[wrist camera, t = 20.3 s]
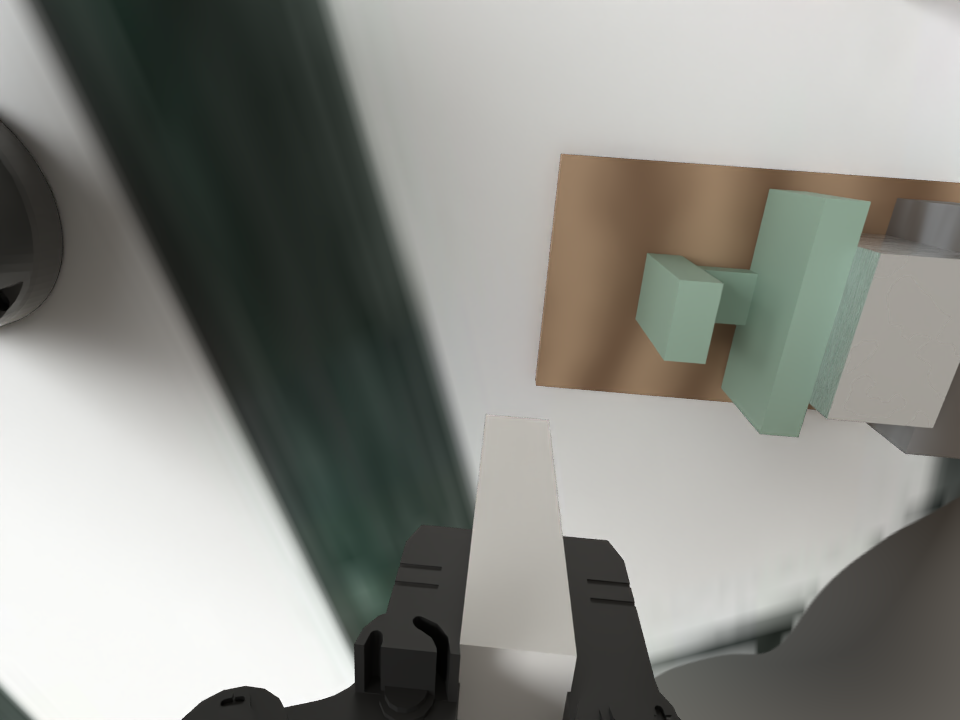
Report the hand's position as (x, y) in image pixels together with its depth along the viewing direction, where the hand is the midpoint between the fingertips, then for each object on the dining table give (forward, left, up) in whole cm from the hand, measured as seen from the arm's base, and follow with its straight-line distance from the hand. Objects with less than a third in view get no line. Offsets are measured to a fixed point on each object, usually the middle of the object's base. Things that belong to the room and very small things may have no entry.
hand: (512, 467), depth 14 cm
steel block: (+18, 0, -21) cm, 28 cm away
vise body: (+13, 0, -22) cm, 26 cm away
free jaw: (+11, 0, -21) cm, 24 cm away
